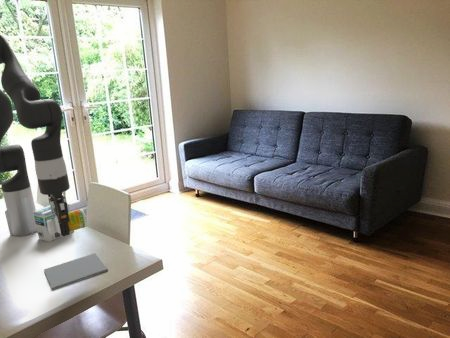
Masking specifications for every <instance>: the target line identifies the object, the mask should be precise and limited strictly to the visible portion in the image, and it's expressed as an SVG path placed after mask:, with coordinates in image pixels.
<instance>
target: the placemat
mask: <svg viewBox="0 0 450 338" xmlns="http://www.w3.org/2000/svg"><path fill="white" fill-rule="evenodd" d="M108 271H109V270H108V268H107V266H106V265H105V263H104V262H103V261H102V260H101V259H100V257H99V256H98V255H97V254H96V253H95V252H94V253H91V254H87V255H85V256H81V257H78V258H75V259H72V260H70V261H66V262H62V263H60V264H57V265H54V266H51V267H47V268H44V269H43V272H44V274H45V276H46V278H47V281H48V283H49V286H50V287H51V290H52V291H53V290H56V289H59V288H62V287H64V286H67V285H70V284H73V283H74V284H75V283H77V282H79V281H81V280H85V279H87V278H91V277H94V276H96V275H99V274H103V273H105V272H108Z"/></svg>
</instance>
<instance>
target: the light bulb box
mask: <svg viewBox="0 0 450 338" xmlns="http://www.w3.org/2000/svg"><path fill="white" fill-rule="evenodd" d="M67 207H68V212H72V211H71V207H70V203H67ZM33 213H34V218H35V223H36V227H37V231H36V232H37V235H38V239H39V240H42V241H45V242H48V243H49V242H52V241H54V240H56V239H59V238H61V237H63V236H62V235H61V234H60V233H58V232H56V233H54V234H50V233H49V231H48V227H47V220H50V219H52V220H54V219H55V217H54V216H53V213H52V211H51V207H50V204H49V205H46V206H44V207H41V208H39V209H36V210H35V211H33ZM73 232H74V231H70V234H71V233H73Z"/></svg>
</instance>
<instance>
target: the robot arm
mask: <svg viewBox="0 0 450 338" xmlns="http://www.w3.org/2000/svg"><path fill="white" fill-rule="evenodd" d="M2 64H4V68H3V71H2V73H1V75H0V76H1V77H0V81H1V87H2V88H3V90H4V91H3V90H2V88H0V144H1V143H2V141H3V138H4V137H5V135H6V134H7V132H8V131H9V129H10V128H11V125H12V124H13V122H14V112H13V107H12V106H14V108H15V109H14V110H15V111H16V116H17V120H18V122H19V124H20V125H21V126H22V127H24V128H26V129H28V130H29V129H31V130H34V129H41V128H46V129H45V131H44V133H43V134H41V135H39V136H37V137H34V138H33V139H32V140H31V141H30V143H31V144H30V145H31V150H32V154H33V155H32V156H33V160H34V169H35V173H36V179H37V183H38V189H39V193H40V194H41V195H44V196H47V197H48V198H47V200H48V203H49V205H50V207H51V211H52V213H53V216H54V217H55V216H57V219H58V223H59V226H60V231H61V235H62V236H61V237H66V236H67V237H68V236H69V235H71V233H70V230H69V225H68V222H70V219H69V214H68V207H67V204H68V202H67V198H66V196H64V194H63V193H64V192H66V191H68V190H69V189H71V187H70V182H69V175H68V170H67V166H66V162H65V159H64V155H63V149H62V144H61V143H62V142H61V135H62V134H61V133H62V132H61V131H62V123H63V109H62V107H61V105H60V104H59V103H58V102H57V101H56V100H55V99H50V98H46V99H41V93H40V90H39V89H38V88H37V87H36V85H35V84H34V83H33V82H32V80H31V79H30V78H29V77H28V75H27V74H26V73H25V71H24V69H23V68H22V65H21V64H20V62H19V61H18V58H17V56H16V54H15V52H14V51H13V49H12V47H11V46H10V44H9V42H8V41H7V39H6V37H4V35H3V34H1V33H0V65H2ZM12 104H13V105H12ZM13 171H16V173H15V174H14V175H13V176H12V177H10V178H8V179H6V180H5V181H3V182H1V186H0V187H1V190H2V195H3V200H4V203H5V207H6V210H5V211H4V214H5V218H6V223H7V226H8V227H7V228H8V231H9V235H10V236H14V237H22V236H27V235H31V234H35V233H36V232H37V227H36V223H35V218H34V213H33V211H35V210H37V209H36V205H35V201H34V196H33V192H32V187H31V183H30V179H29V174H28V167H27V162H26V155H25V152H24V149H23V147H22V145H20V144H11V145H5V146H0V174H1V173H9V172H13ZM64 215H65V218H63V219H61V216H64Z"/></svg>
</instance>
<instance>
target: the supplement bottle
mask: <svg viewBox="0 0 450 338" xmlns="http://www.w3.org/2000/svg"><path fill="white" fill-rule="evenodd" d="M68 214H69V219H70V222H68V225H69V230H70V231H73V232H74V231H77V230H80V229H84V228H87V225H88V224H87V217H86V214H85V212H84V210H83V208H81V209H76V210H73V211H71V212H68ZM63 218H65V215H64V216H61V219H63ZM47 227H48V231H49V233H50V234H54V233H56V232H58V233H60V234H61V231H60V226H59V223H58V219H57V216H55V219H54V220H52V219H50V220H47Z"/></svg>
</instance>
